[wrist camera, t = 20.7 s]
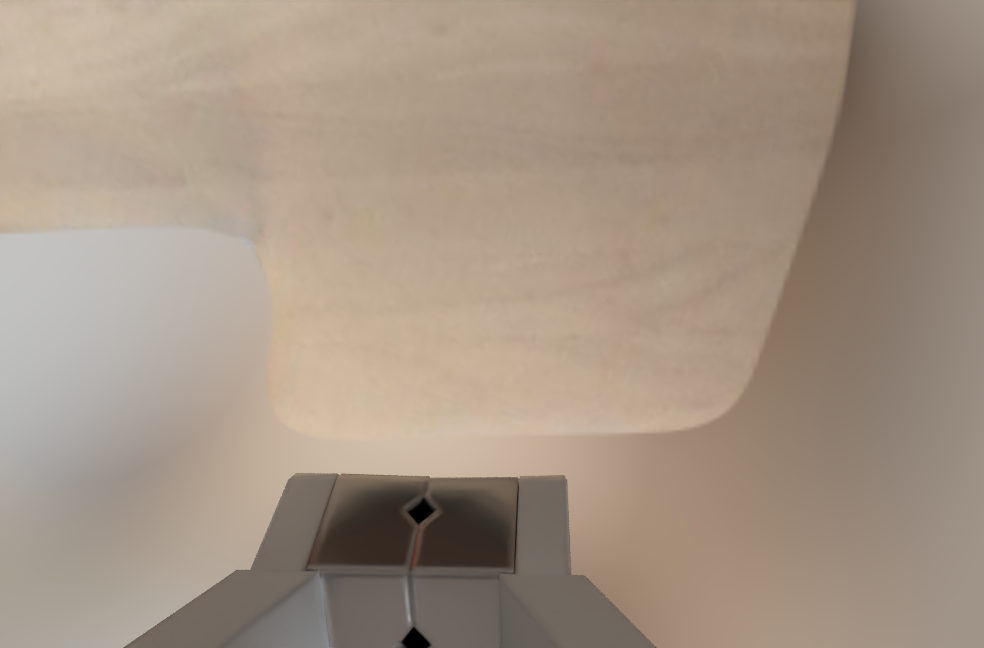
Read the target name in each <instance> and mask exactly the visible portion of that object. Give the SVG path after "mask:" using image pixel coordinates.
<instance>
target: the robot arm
mask: <svg viewBox="0 0 984 648" xmlns="http://www.w3.org/2000/svg"><path fill="white" fill-rule="evenodd" d="M124 648H656V647H655V646H654V645H653V644H652V643H651V642H650V641H649V640H648V639H647V638H646V637H645V636H644V635H643V634H642V633H641V632H640V631H639V630H638V629H637V628H636V627H635V626H634V625H633V624H632V623H631V621H630V620H629V619H627V617H626V616H625V615H624V614H623V613H622V612H620V611H619V609H618V608H617V607H616V606H615V605H614V604H612V602H611V601H610V600H609V599H608V598H607V597H605V595H604V594H603V593H602V592H601V591H600V590H599V589H598V588H597V587H596V586H595V585H594V584H593V583H592V582H591V581H590V580H589V579H588V578H587V577H586V576H583V575H571V558H570V535H569V512H568V491H567V479H566V478H565V476H564V475H555V476H554V475H553V476H520V478H519V479H518V478H517V477H512V478H511V477H493V478H492V477H491V478H490V477H486V478H485V477H484V478H482V477H476V478H475V477H472V478H471V477H469V478H468V477H465V478H463V477H461V478H430V477H429V476H397V475H365V474H341V475H338V474H325V473H297V474H295V475H293V476H292V477H291V478H290V479H289V480H288V482H287V484H286V487H285V489H284V491H283V494H282V496H281V498H280V501H279V503H278V506H277V508H276V510H275V513H274V515H273V518H272V520H271V522H270V525H269V527H268V529H267V532H266V534H265V537H264V539H263V541H262V543H261V546H260V548H259V551H258V553H257V555H256V558H255V560H254V562H253V565H252V567H251V569H250V570H236V571H235V572H233V573H232V574H230V575H229V576H227V577H226V578H224V579H223V580H222V581H220V582H219V583H217V584H216V585H214V586H213V587H211V588H210V589H208V590H207V591H206V592H204V593H202V594H201V595H200V596H198V597H197V598H195V599H194V600H192V601H191V602H189V603H188V604H186V605H185V606H183V607H182V608H181V609H179V610H178V611H176V612H175V613H173V614H172V615H170V616H169V617H167V618H166V619H165V620H163V621H162V622H160V623H159V624H157V625H156V626H155V627H153V628H151V629H150V630H148V631H147V632H145V633H144V634H143V635H141V636H140V637H138V638H137V639H135V640H134V641H132V642H131V643H130V644H128V645H126V646H125V647H124Z"/></svg>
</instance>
